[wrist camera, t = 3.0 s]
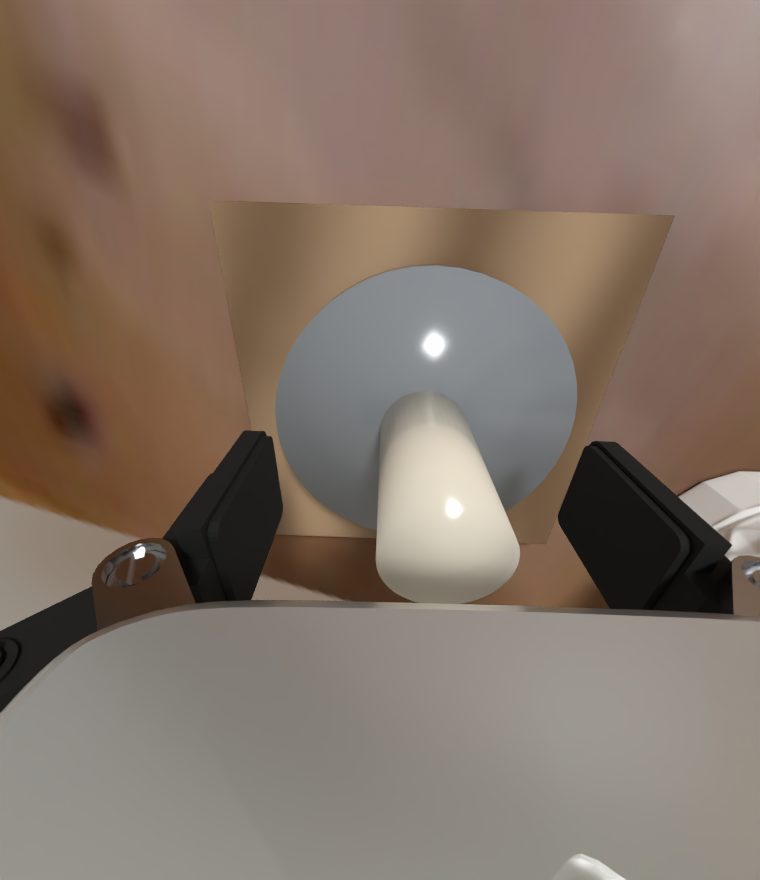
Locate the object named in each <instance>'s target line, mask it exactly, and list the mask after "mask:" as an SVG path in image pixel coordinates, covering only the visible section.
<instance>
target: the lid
mask: <svg viewBox="0 0 760 880" xmlns="http://www.w3.org/2000/svg"><path fill="white" fill-rule="evenodd" d="M576 406H577V380H576V375H575V369H574V364H573V361H572V358H571V355H570V352H569V350H568V347H567V344H566V343H565V341H564V339H563V337H562V335H561V334H560V332H559V330H558V328H557V327H556V326H555V324H554V323H553V322H552V321H551V319H550V318H549V317H548V316H547V314H546V313H545V312H544V311H543V310H542V309H541V308H540V307H539V306H538V305H536V304H535V303H534V302H533V301H532V300H531V299H530V298H529V297H527V296H526V295H524V294H523V293H521V292H519V291H518V290H516V289H515V288H513V287H511V286H510V285H508V284H506V283H504V282H501V281H499V280H497V279H494V278H492V277H489V276H487V275H485V274H482V273H480V272H477V271H474V270H470V269H466V268H462V267H458V266H450V265H440V264H423V265H410V266H405V267H399V268H394V269H390V270H387V271H384V272H381V273H378V274H375V275H372V276H369V277H367V278H365V279H364V280H362V281H360V282H358V283H356V284H354V285H352V286H350V287H349V288H347V289H346V290H344V291H343V292H341V293H340V294H339V295H337V296H336V297H334V298H333V299H332V300H331V301H330V302H329V303H328V304H327V305H326V306H324V307H323V308H322V309H321V310H320V311H319V312H318V313H317V314H316V315H315V317H314V318H313V319H312V320H311V321H310V322H309V324H308V325H307V326H306V328H305V329H304V330H303V331H302V333H301V334H300V335H299V336H298V338H297V340H296V341H295V343H294V345H293V347H292V348H291V350H290V352H289V354H288V355H287V358H286V361H285V363H284V366H283V368H282V371H281V374H280V378H279V383H278V387H277V391H276V405H275V414H276V427H277V431H278V436H279V440H280V444H281V447H282V449H283V452H284V454H285V457H286V459H287V461H288V463H289V465H290V467H291V468H292V470H293V472H294V474H295V475H296V476H297V478H298V479H299V480H300V482H301V483H302V485H303V486H304V487H305V488H306V489H307V490H308V491H309V492H310V493H311V494H312V495H313V496H314V497H315V498H316V499H317V500H318V501H320V502H321V503H322V504H323V505H324V506H325V507H327V508H329V509H330V510H332V511H333V512H335V513H336V514H338V515H339V516H341V517H343V518H345V519H347V520H349V521H351V522H353V523H356V524H358V525H361V526H363V527H366V528H369V529H373V530H377V540H376V567H377V571H378V573H379V576H380V578H381V579H382V581H383V582H384V583H385V584H386V585H387V586H388V587H389V588H390V589H391V590H392V591H394V592H395V593H397V594H398V595H400V596H402V597H404V598H406V599H409V600H411V601H414V602H418V603H437V604H462V603H467V602H471V601H474V600H477V599H480V598H482V597H485V596H487V595H489V594H491V593H492V592H494V591H496V590H497V589H499V588H500V587H501V586H503V585H504V584H505V583H506V582H507V581H508V580H509V579H510V577H511V576H512V575H513V573H514V572H515V570H516V568H517V566H518V562H519V558H520V549H519V544H518V541H517V538H516V536H515V534H514V531H513V529H512V527H511V524H510V522H509V520H508V517H507V515H506V511H507V510H509V509H510V508H512V507H513V506H515V505H516V504H518V503H519V502H520V501H522V500H523V499H524V498H525V497H526V496H528V495H529V494H530V493H531V492H532V491H533V490H534V489H535V488H536V487H537V486H538V485H539V484H540V483H541V482H542V481H543V480H544V479H545V478H546V476H547V475H548V474H549V472H550V471H551V470H552V469H553V467H554V466H555V464H556V463H557V461H558V459H559V458H560V456H561V454H562V452H563V451H564V448H565V446H566V444H567V441H568V439H569V437H570V434H571V430H572V427H573V423H574V420H575V414H576Z"/></svg>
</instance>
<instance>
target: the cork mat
mask: <svg viewBox="0 0 760 880" xmlns="http://www.w3.org/2000/svg"><path fill="white" fill-rule="evenodd" d="M208 201H209V206H210V211H211V217H212V222H213V227H214V233H215V238H216V243H217V249H218V254H219V260H220V265H221V270H222V276H223V281H224V286H225V292H226V297H227V302H228V308H229V313H230V318H231V324H232V329H233V334H234V340H235V345H236V350H237V356H238V361H239V366H240V372H241V377H242V382H243V388H244V393H245V399H246V404H247V409H248V415H249V420H250V425H251V431H265V432H266V435H267V436H271V437H272V438H273V443H274V450H275V456H276V463H277V470H278V476H279V483H280V489H281V496H282V503H283V513H282V517H281V520H280V523H279V525H278V528H277V531H276V534H275V535H303V536H331V537H359V538H377V530H373V529H369V528H366V527H363V526H361V525H358V524H356V523H353V522H351V521H349V520H347V519H345V518H343V517H341V516H339V515H338V514H336V513H335V512H333V511H332V510H330V509H329V508H327V507H325V506H324V505H323V504H322V503H321V502H320V501H318V500H317V499H316V498H315V497H314V496H313V495H312V494H311V493H310V492H309V491H308V490H307V489H306V488H305V487H304V486H303V485H302V483H301V482H300V480H299V479H298V478H297V476H296V475H295V474H294V472H293V470H292V468H291V467H290V465H289V463H288V461H287V459H286V457H285V454H284V452H283V449H282V447H281V444H280V440H279V436H278V431H277V427H276V414H275V405H276V391H277V387H278V383H279V378H280V374H281V371H282V368H283V366H284V363H285V361H286V358H287V355H288V354H289V352H290V350H291V348H292V347H293V345H294V343H295V341H296V340H297V338H298V336H299V335H300V334H301V333H302V331H303V330H304V329H305V328H306V326H307V325H308V324H309V322H310V321H311V320H312V319H313V318H314V317H315V315H316V314H317V313H318V312H319V311H320V310H321V309H322V308H323V307H324V306H326V305H327V304H328V303H329V302H330V301H331V300H332V299H333V298H334V297H336V296H337V295H339V294H340V293H341V292H343V291H344V290H346V289H347V288H349V287H350V286H352V285H354V284H356V283H358V282H360V281H362V280H364V279H365V278H367V277H369V276H372V275H375V274H378V273H381V272H384V271H387V270H390V269H394V268H399V267H405V266H410V265H423V264H440V265H450V266H458V267H462V268H466V269H470V270H474V271H477V272H480V273H482V274H485V275H487V276H489V277H492V278H494V279H497V280H499V281H501V282H504V283H506V284H508V285H510V286H511V287H513V288H515V289H516V290H518V291H519V292H521V293H523V294H524V295H526V296H527V297H529V298H530V299H531V300H532V301H533V302H534V303H535V304H536V305H538V306H539V307H540V308H541V309H542V310H543V311H544V312H545V313H546V314H547V316H548V317H549V318H550V319H551V321H552V322H553V323H554V324H555V326H556V327H557V328H558V330H559V332H560V334H561V335H562V337H563V339H564V341H565V343H566V344H567V347H568V350H569V352H570V355H571V358H572V361H573V364H574V369H575V375H576V380H577V406H576V414H575V420H574V423H573V427H572V430H571V434H570V437H569V439H568V441H567V444H566V446H565V448H564V451H563V452H562V454H561V456H560V458H559V459H558V461H557V463H556V464H555V466H554V467H553V469H552V470H551V471H550V472H549V474H548V475H547V476H546V478H545V479H544V480H543V481H542V482H541V483H540V484H539V485H538V486H537V487H536V488H535V489H534V490H533V491H532V492H531V493H530V494H529V495H528V496H526V497H525V498H524V499H523V500H522V501H520V502H519V503H518V504H516V505H515V506H513V507H512V508H510V509H509V510H507V511H506V515H507V517H508V520H509V522H510V524H511V527H512V529H513V531H514V534H515V536H516V538H517V541H518V543H526V544H546V543H547V540H548V538H549V535H550V533H551V530H552V528H553V525H554V522H555V520H556V517H557V515H558V512H559V510H560V507H561V505H562V502H563V500H564V497H565V494H566V492H567V489H568V487H569V484H570V482H571V479H572V477H573V474H574V471H575V469H576V466H577V464H578V461H579V459H580V456H581V454H582V451H583V449H584V446H585V443H586V441H587V438H588V436H589V433H590V431H591V428H592V426H593V423H594V420H595V418H596V415H597V413H598V410H599V408H600V405H601V403H602V400H603V398H604V395H605V392H606V390H607V387H608V385H609V382H610V380H611V377H612V375H613V372H614V369H615V367H616V364H617V362H618V359H619V357H620V354H621V352H622V349H623V347H624V344H625V341H626V339H627V336H628V334H629V331H630V329H631V326H632V324H633V321H634V318H635V316H636V313H637V311H638V308H639V306H640V303H641V301H642V298H643V296H644V293H645V290H646V288H647V285H648V283H649V280H650V278H651V275H652V273H653V270H654V267H655V265H656V262H657V260H658V257H659V255H660V252H661V250H662V247H663V245H664V242H665V239H666V237H667V234H668V232H669V229H670V227H671V224H672V222H673V219H674V216H671V215H641V214H610V213H579V212H549V211H518V210H488V209H457V208H426V207H396V206H365V205H335V204H304V203H274V202H243V201H212V200H208Z"/></svg>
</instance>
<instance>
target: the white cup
mask: <svg viewBox="0 0 760 880" xmlns="http://www.w3.org/2000/svg"><path fill="white" fill-rule="evenodd" d="M678 497H679V498H680V499H681V500H682V501H683V502H684V503H685V504H687V505H688V506H689V507H690V508H691V509H692V510H693V511H695V512H696V513H697V514H698V515H699V516H700V517H701V518H702V519H704V520H705V521H706V522H707V523H708V524H709V525H710V526H711V527H713V528H714V529H715V530H716V531H717V532H718V533H719V534H720V535H722V536H723V537H724V538H725V539H726V540H727V541H728V542H729V543H731V544H732V546H731V548H730V549H729V550H728V551H727V553H726V554H725V556H726V557H727V558H728V559H729V560H730V561H732V560H733V559H734V558H736V557H738V556H744V555H750V556H755V557H760V472H753V471H738V472H734V473H731V474H727V475H724V476H720V477H717V478H714V479H710V480H707V481H704V482H701V483H700V484H698V485H696V486H695V487H693V488H691V489H690V490H688V491H686V492H685V493H683V494H681V495H680V496H678Z"/></svg>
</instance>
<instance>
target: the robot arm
mask: <svg viewBox="0 0 760 880" xmlns="http://www.w3.org/2000/svg"><path fill="white" fill-rule="evenodd" d="M282 513H283V503H282V496H281V489H280V483H279V476H278V470H277V463H276V456H275V450H274V443H273V438H272V437H271V436H267V435H266V432H265V431H244V432H243V433H242V434H241V435H240V437H239V438H238V440H237V441H236V442H235V444H234V445H233V446H232V448H231V449H230V451H229V452H228V453H227V455H226V456H225V457H224V459H223V460H222V462H221V463H220V464H219V466H218V467H217V468H216V470H215V471H214V473H212V474H210V475H209V476H208V477H207V478H206V480H205V481H204V483H203V484H202V485H201V487H200V488H199V489H198V491H197V492H196V493H195V495H194V496H193V497H192V499H191V500H190V502H189V503H188V504H187V506H186V507H185V508H184V510H183V511H182V512H181V514H180V515H179V516H178V518H177V519H176V521H175V522H174V523H173V525H172V526H171V527H170V529H169V530H168V531H167V533H166V534H165V535H164V537H163V538H162V539H160V538H147V539H141V540H137V541H134V542H131V543H128V544H126V545H124V546H122V547H121V548H118V549H117V550H115V551H114V552H112V553H111V554H110V555H108V556H107V557H106V558H105V559H104V560H103V561H102V562H101V563H100V564H99V565H98V566H97V568H96V570H95V572H94V573H93V577H92V587H90V588H88V589H86V590H83V591H81V592H79V593H77V594H75V595H73V596H72V597H69V598H67V599H65V600H63V601H61V602H59V603H57V604H55V605H53V606H51V607H49V608H47V609H44V610H43V611H40V612H38V613H36V614H34V615H32V616H30V617H28V618H26V619H24V620H22V621H20V622H18V623H16V624H14V625H12V626H10V627H8V628H6V629H4V630H2V631H0V880H760V557H755V556H750V555H744V556H738V557H736V558H734V559H733V560H732V561H730V560H729V559H728V558H727V557H726V556H725V554H726V553H727V551H728V550H729V549H730V548H731V546H732V544H731V543H729V542H728V541H727V540H726V539H725V538H724V537H723V536H722V535H720V534H719V533H718V532H717V531H716V530H715V529H714V528H713V527H711V526H710V525H709V524H708V523H707V522H706V521H705V520H704V519H702V518H701V517H700V516H699V515H698V514H697V513H696V512H695V511H693V510H692V509H691V508H690V507H689V506H688V505H687V504H685V503H684V502H683V501H682V500H681V499H680V498H679V497H678V496H676V495H675V494H674V493H673V492H672V491H671V490H670V489H669V488H667V487H666V486H665V485H664V484H663V483H662V482H661V481H660V480H658V479H657V478H656V477H655V476H654V475H653V474H652V473H651V472H649V471H648V470H647V469H646V468H645V467H644V466H643V465H642V464H640V463H639V462H638V461H637V460H636V459H635V458H634V457H633V456H631V455H630V454H629V453H628V452H627V451H626V450H625V449H624V448H622V447H621V446H620V445H619V444H618V443H616V442H603V441H594V442H592V443H591V444H590V445H589V446H586V447H585V448H584V449H583V451H582V454H581V457H580V459H579V462H578V464H577V467H576V469H575V472H574V475H573V477H572V480H571V482H570V485H569V487H568V490H567V493H566V495H565V498H564V500H563V503H562V505H561V508H560V511H559V513H558V521H559V524H560V526H561V528H562V530H563V531H564V533H565V535H566V536H567V538H568V540H569V541H570V543H571V545H572V546H573V548H574V550H575V551H576V553H577V555H578V556H579V558H580V559H581V561H582V563H583V564H584V566H585V568H586V569H587V571H588V573H589V574H590V576H591V578H592V579H593V581H594V583H595V584H596V586H597V588H598V589H599V591H600V592H601V594H602V596H603V597H604V599H605V601H606V602H607V604H608V606H609V607H610V609H602V608H572V607H542V606H508V605H473V604H437V603H396V602H353V601H288V600H287V601H286V600H284V601H283V600H280V601H279V600H277V601H276V600H251V599H252V596H253V593H254V591H255V588H256V585H257V582H258V579H259V577H260V574H261V572H262V569H263V566H264V564H265V561H266V558H267V555H268V553H269V550H270V547H271V544H272V542H273V539H274V536H275V534H276V531H277V528H278V525H279V523H280V520H281V517H282Z"/></svg>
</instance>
